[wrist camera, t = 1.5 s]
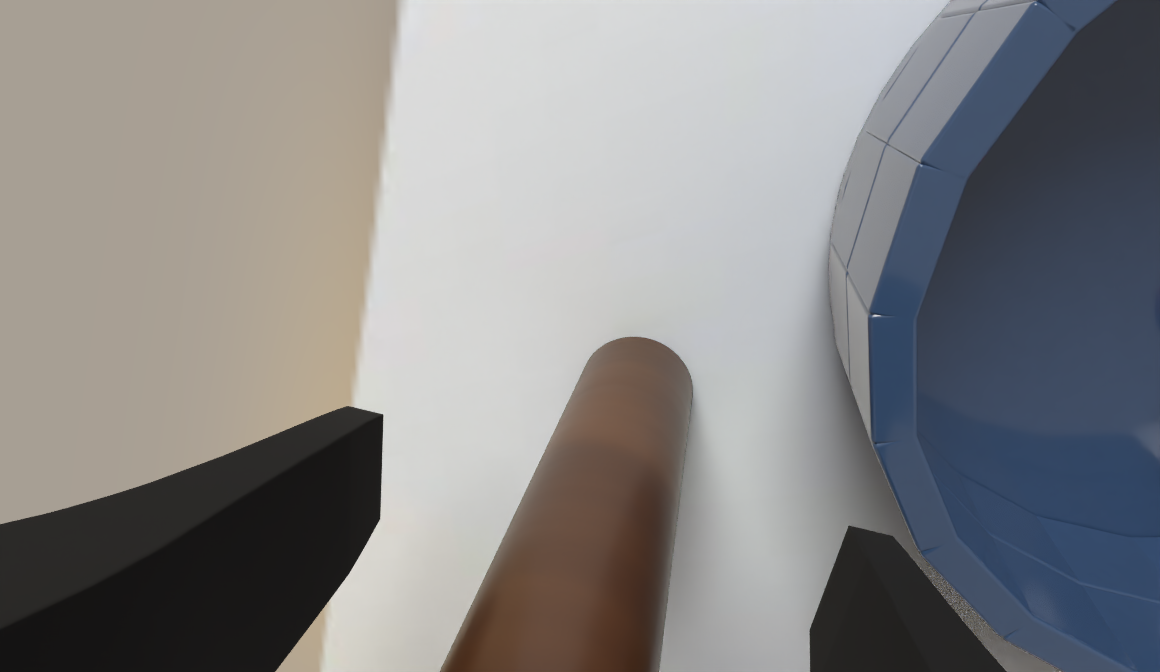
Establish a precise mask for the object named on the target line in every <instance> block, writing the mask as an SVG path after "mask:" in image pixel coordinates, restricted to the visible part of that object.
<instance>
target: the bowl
mask: <svg viewBox="0 0 1160 672" xmlns="http://www.w3.org/2000/svg"><path fill="white" fill-rule="evenodd" d="M828 271H829V288H830V305H831V311H832V316H833V320H834V337H835V341H836V346H837V349H838V352H839V354H840V357H841V360H842V363H843V366H844V369H845V371H846V374H847V377H848V380H849V383H850V386H851V388H852V391H853V394H854V397H855V400H856V402H857V405H858V408H859V411H860V414H861V417H862V419H863V422H864V425H865V428H866V431H867V434H868V436H869V439H870V442H871V445H872V448H873V450H874V452H875V455H876V457H877V459H878V462H879V464H880V466H881V469H882V471H883V473H884V476H885V478H886V480H887V483H888V485H889V487H890V489H891V492H892V494H893V496H894V499H895V501H896V503H897V506H898V508H899V510H900V513H901V515H902V517H903V520H904V522H905V524H906V527H907V529H908V531H909V534H910V536H911V538H912V541H913V543H914V545H915V547H916V548H917V549H918V550H919V552H920V555H921V556H922V557H923V558H924V559H925V560H926V561H927V562H928V563H929V564H930V565H931V566H932V567H933V568H934V569H935V570H936V571H937V572H938V574H939V575H940V576H941V577H942V578H943V579H944V580H945V581H946V582H947V583H948V584H949V585H950V586H951V587H952V588H953V589H954V590H955V591H956V592H957V593H958V594H959V595H960V596H961V597H962V598H963V599H964V600H965V601H966V603H967V604H968V605H969V606H970V607H971V608H972V609H973V610H974V611H975V612H976V613H977V614H978V615H979V616H980V617H981V618H982V619H983V620H984V621H985V622H986V623H987V624H988V625H989V626H990V627H991V628H992V629H993V631H994V632H995V633H996V634H998V635H999V636H1001V637H1003V639H1004V640H1006V641H1007V642H1009V643H1011V644H1013V645H1014V646H1016V647H1018V648H1020V649H1022V650H1024V651H1025V652H1027V653H1029V654H1031V655H1033V656H1035V657H1036V658H1038V659H1040V660H1042V661H1044V662H1046V663H1047V664H1049V665H1051V666H1053V667H1055V668H1057V669H1058V670H1060V671H1062V672H1160V0H951V1H950V2H949V3H948V4H947V5H946V7H945V8H944V9H943V10H942V11H941V12H940V14H939V15H938V16H937V17H936V18H935V20H934V21H933V22H932V23H931V24H930V25H929V27H928V28H927V29H926V30H925V31H924V33H923V34H922V35H921V36H920V37H919V39H918V40H917V41H916V42H915V43H914V44H913V46H912V47H911V48H910V50H909V51H908V53H907V54H906V56H905V57H904V59H903V60H902V62H901V63H900V65H899V66H898V68H897V69H896V70H895V72H894V73H893V75H892V76H891V78H890V79H889V81H888V82H887V84H886V85H885V87H884V88H883V90H882V91H881V93H880V95H879V97H878V99H877V101H876V103H875V105H874V107H873V109H872V111H871V113H870V114H869V116H868V118H867V120H866V122H865V124H864V126H863V128H862V130H861V132H860V134H859V136H858V138H857V141H856V144H855V146H854V149H853V152H852V154H851V157H850V160H849V163H848V165H847V168H846V171H845V174H844V176H843V179H842V182H841V186H840V191H839V195H838V200H837V204H836V209H835V213H834V217H833V222H832V228H831V240H830V252H829V264H828Z"/></svg>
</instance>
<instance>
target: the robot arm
mask: <svg viewBox="0 0 1160 672" xmlns="http://www.w3.org/2000/svg"><path fill="white" fill-rule="evenodd" d="M382 441H383V414H379V413H375V412H370V411H366V410H362V409H358V408H354V407H349V406H347V407H343V408H340V409H337V410H335V411H332V412H329V413H327V414H324V415H321V416H319V417H316V418H314V419H311V420H309V421H306V422H304V423H302V424H299V425H297V426H294V427H292V428H290V429H287V430H285V431H283V432H280V433H278V434H276V435H273V436H271V437H268V438H266V439H263V440H261V441H258V442H256V443H254V444H251V445H248V446H246V447H244V448H241V449H239V450H236V451H234V452H231V453H229V454H226V455H224V456H221V457H219V458H216V459H213V460H210V461H208V462H205V463H202V464H200V465H197V466H194V467H191V468H189V469H186V470H183V471H181V472H178V473H175V474H173V475H170V476H167V477H164V478H162V479H159V480H156V481H154V482H151V483H148V484H145V485H142V486H139V487H136V488H133V489H129V490H126V491H123V492H120V493H117V494H114V495H110V496H107V497H104V498H100V499H97V500H93V501H90V502H86V503H83V504H79V505H76V506H73V507H69V508H66V509H62V510H58V511H54V512H51V513H47V514H43V515H39V516H34V517H30V518H25V519H21V520H17V521H13V522H8V523H4V524H0V672H275V671H276V670H277V669H278V667H279V666H280V665H281V663H282V662H283V661H284V659H285V658H286V657H287V655H288V654H289V653H290V652H291V650H292V649H293V647H294V646H295V645H296V644H297V642H298V641H299V640H300V638H301V637H302V636H303V634H304V633H305V632H306V630H307V629H308V628H309V627H310V625H311V624H312V623H313V621H314V620H315V618H316V617H317V616H318V615H319V613H320V612H321V611H322V609H323V608H324V607H325V605H326V604H327V603H328V601H329V600H330V599H331V597H332V596H333V595H334V593H335V592H336V591H337V589H338V588H339V587H340V585H341V584H342V582H343V581H344V580H345V578H346V577H347V576H348V574H349V573H350V571H351V569H352V568H353V566H354V564H355V563H356V561H357V559H358V557H359V556H360V554H361V552H362V551H363V549H364V547H365V545H366V544H367V542H368V540H369V538H370V536H371V534H372V533H373V531H374V529H375V527H376V525H377V523H378V522H379V520H380V507H381V474H382ZM810 672H1006V671H1005V669H1004V668H1003V667H1002V666H1001V665H1000V664H999V663H998V662H997V660H996V659H995V658H994V657H993V656H992V655H991V654H990V652H989V651H988V650H987V649H986V648H985V647H984V645H983V644H982V643H981V642H980V641H979V640H978V638H977V637H976V636H975V635H974V634H973V632H972V631H971V630H970V629H969V628H968V627H967V625H966V624H965V623H964V622H963V620H962V619H961V618H960V617H959V616H958V614H957V613H956V612H955V611H954V610H953V608H952V607H951V606H950V605H949V604H948V602H947V601H946V600H945V599H944V597H943V596H942V595H941V594H940V593H939V591H938V590H937V589H936V588H935V586H934V585H933V584H932V583H931V581H930V580H929V579H928V578H927V577H926V575H925V574H924V573H923V572H922V570H921V569H920V568H919V567H918V566H917V564H916V563H915V562H914V561H913V559H912V558H911V557H910V556H909V555H908V553H907V552H906V551H905V550H904V549H903V548H902V546H901V545H900V544H899V543H898V542H897V541H896V540H895V538H894V537H893V536H890V535H886V534H882V533H877V532H873V531H869V530H865V529H861V528H856V527H852V526H848V529H847V532H846V534H845V537H844V540H843V542H842V545H841V548H840V550H839V553H838V556H837V558H836V561H835V564H834V566H833V569H832V572H831V574H830V577H829V580H828V582H827V585H826V588H825V591H824V593H823V596H822V599H821V601H820V604H819V607H818V609H817V612H816V615H815V617H814V620H813V623H812V625H811V628H810Z"/></svg>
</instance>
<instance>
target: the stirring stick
mask: <svg viewBox="0 0 1160 672" xmlns="http://www.w3.org/2000/svg"><path fill="white" fill-rule="evenodd" d="M692 395H693V387H692V380H691V377H690V374H689V372H688V369H687V367H686V366H685V364H684V363H683V361H682V360H681V359H680V357H679V356H678V355H677V354H676V353H675V352H673V351H672V350H671V349H669V348H668V347H667V346H665V345H663V344H661V343H659V342H657V341H654V340H651V339H647V338H641V337H625V338H620V339H616V340H613V341H611V342H609V343H607V344H605V345H603V346H602V347H600V348H599V349H598V350H597V351H596V352H595V353H594V354H593V355H592V356H591V357H590V359H589V360H588V362H587V364H586V366H585V368H584V370H583V372H582V374H581V376H580V378H579V380H578V382H577V385H576V387H575V389H574V391H573V393H572V395H571V397H570V399H569V401H568V403H567V406H566V408H565V410H564V412H563V414H562V416H561V418H560V420H559V422H558V424H557V427H556V429H555V431H554V433H553V435H552V437H551V439H550V441H549V443H548V445H547V448H546V450H545V452H544V454H543V456H542V458H541V460H540V462H539V464H538V466H537V469H536V471H535V473H534V475H533V477H532V479H531V481H530V483H529V485H528V487H527V490H526V492H525V494H524V496H523V498H522V500H521V502H520V504H519V506H518V508H517V511H516V513H515V515H514V517H513V519H512V521H511V523H510V525H509V527H508V529H507V532H506V534H505V536H504V538H503V540H502V542H501V544H500V546H499V548H498V550H497V553H496V555H495V557H494V559H493V561H492V563H491V565H490V567H489V569H488V571H487V574H486V576H485V578H484V580H483V582H482V584H481V586H480V588H479V590H478V592H477V595H476V597H475V599H474V601H473V603H472V605H471V607H470V609H469V611H468V613H467V615H466V618H465V620H464V622H463V624H462V626H461V628H460V630H459V632H458V634H457V636H456V639H455V641H454V643H453V645H452V647H451V649H450V651H449V653H448V655H447V657H446V660H445V662H444V664H443V666H442V668H441V670H440V672H659V667H660V659H661V651H662V642H663V634H664V626H665V618H666V609H667V601H668V593H669V585H670V576H671V568H672V560H673V552H674V543H675V535H676V527H677V519H678V510H679V502H680V494H681V485H682V477H683V469H684V461H685V452H686V444H687V436H688V428H689V419H690V411H691V403H692Z"/></svg>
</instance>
